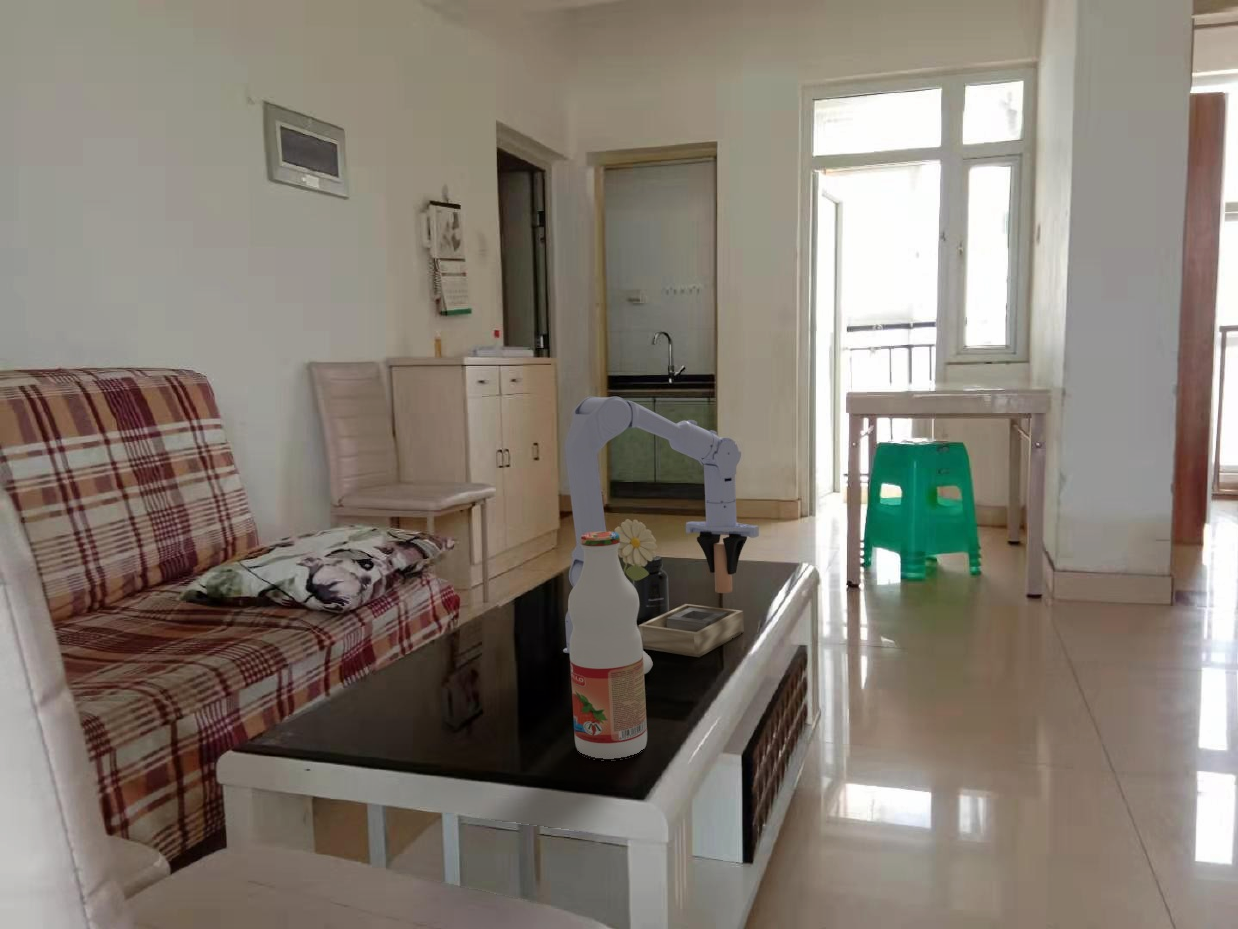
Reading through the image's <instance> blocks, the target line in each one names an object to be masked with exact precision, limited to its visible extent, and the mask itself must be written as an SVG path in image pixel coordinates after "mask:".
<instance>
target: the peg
mask: <svg viewBox="0 0 1238 929" xmlns="http://www.w3.org/2000/svg"><path fill="white" fill-rule="evenodd" d="M714 567H715V572H714V588H715V590H714V591H715V593H719V594H728V593H732V592H733V574H732V575H730V574H728V572H727V556H726V550H725V546H724V542H723V541H722V542H719V543H715V544H714Z"/></svg>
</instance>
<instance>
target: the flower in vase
mask: <svg viewBox="0 0 1238 929" xmlns="http://www.w3.org/2000/svg"><path fill="white" fill-rule="evenodd" d="M646 528H647V526H646V525H645V524H644V523H643V522H641V521H638V519H633V520H631V519H628V518H626V519H625V521H623V522H621V524H620V526H617V527H615V528H614V532H616V533H618V534H619V538H620V543H619V544H620V546H619V547H618V557H619V558H622V562H623V563H624V567H623V569H622V570H623V572H624V574H626V575H627V576H628V577H629V578H630V579H631V580H632V581H633V580H636V581H637V580H640V579H643V578H645V577H646V576H648V575H649V573H648V572H647V571H646V570H645V569H644V568H643V567H641V566H646V565H647V560H648V561H652V560H653V557H656V556H657V553H656V550H657V549H658V545H657V544H656V542H657V539H656V538H655V536H654V534H652V530H650V529H646ZM628 564H629V565H630V566H628ZM627 566H628V567H627ZM643 664H644V675H646V674H648V673H649V672H650V671H651V669H652V667H653V665H654V664H653V661H652V657H651V656H650V655H648V653H646V651H644V650H643Z"/></svg>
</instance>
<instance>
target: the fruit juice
mask: <svg viewBox="0 0 1238 929" xmlns="http://www.w3.org/2000/svg"><path fill="white" fill-rule="evenodd" d="M619 543H620V538H619V534H618V533H616V532H615V531H610V530H609V531H607V530H606V531H601V532H591V533H586V534H583V535H582V536H581V545H582V549H583V550H584V563H583V568H582V573H581V575H580V578H579V580H578V582H577V583H576V585H575V586H574V587H573V586H572V589H571V591H570V593H569V595H568V598H567V599H568V602H567V608H568V610H569V614H570V617H571V620H572V623H573V631H572V634H571V637H570V653H569V662H570V663H569V664H570V665H569V666H570V680H571V681H570V682H571V683H570V684H571V696H572V697H571V699H572V712H573V713H572V715H573V731H574V743H575V749H576V750H577V752H578V751H579V752H580V753H582V754H585V755H588V756H591V757H595V758H603V759H614V758H621V757H627V756H630V755H634V754H637V753H639V752H640V751H641V750H643V749H644V750H645V748H646V746H647V742H648V727H647V709H646V708H647V707H646V689H645V688H646V685H645V674H644V664H643V651H644V648H643V645H642V638H641V634H640V631H639V627H638V624H637V623H638V622H637V621H638V620H637V616H638V612H639V596H638V593H637V591H636V589H635V587H634V586H633V582H631V581H630V580H629V579H628V578H627V576H626V575H625V573H624V572H623V570H624V569H623V568H622V565H621V561H620V557H619V555H618V547H619V546H620V544H619ZM568 610H567V611H568ZM644 750H643V751H644ZM579 752H578V753H579ZM641 752H642V751H641ZM641 752H640V753H641ZM580 753H579V754H580ZM640 753H639V754H640ZM637 755H638V754H637Z"/></svg>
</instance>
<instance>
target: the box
mask: <svg viewBox="0 0 1238 929" xmlns="http://www.w3.org/2000/svg"><path fill="white" fill-rule="evenodd" d="M637 627H638V629H639V631H640V634H641V638H642V645H643V650H644V649H645V650H651V651H657V652H662V653H663V652H664V653H671V654H676V655H681V656H689V657H695V658H700V657H702V656H704V655H706V654H708V653H710V652H711V651H713V650H715V649H716V648H718V647H720V646H722V645H724V644H725V643H728V642H730V641H731V640H733V639H735V638H736V637H738V636H740V635H741V633H742V634H744V633H745V632H744V631H745V630H744V610H739V609H731V608H723V607H716V606H707V605H700V604H699V605H696V604H691V603H689V604H688V603H684V604H682V605H680V606H678V607H676V608H674V609H672V610H669V612H667V613H665V614H663V615H660V616H658V617H656V618H654V619H652V620H649V621H647V622H642V623H641V624H639V625H638V624H637ZM743 632H744V633H743ZM732 638H733V639H732Z"/></svg>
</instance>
